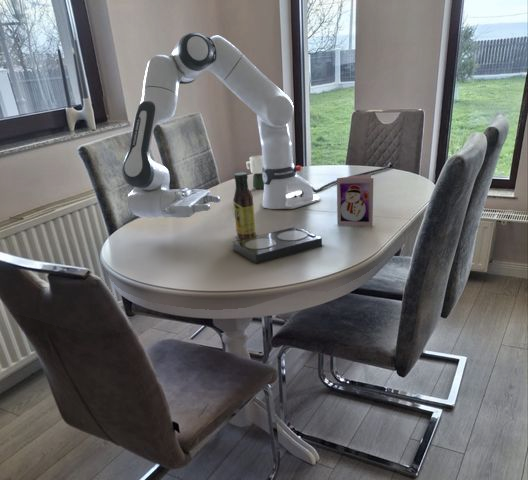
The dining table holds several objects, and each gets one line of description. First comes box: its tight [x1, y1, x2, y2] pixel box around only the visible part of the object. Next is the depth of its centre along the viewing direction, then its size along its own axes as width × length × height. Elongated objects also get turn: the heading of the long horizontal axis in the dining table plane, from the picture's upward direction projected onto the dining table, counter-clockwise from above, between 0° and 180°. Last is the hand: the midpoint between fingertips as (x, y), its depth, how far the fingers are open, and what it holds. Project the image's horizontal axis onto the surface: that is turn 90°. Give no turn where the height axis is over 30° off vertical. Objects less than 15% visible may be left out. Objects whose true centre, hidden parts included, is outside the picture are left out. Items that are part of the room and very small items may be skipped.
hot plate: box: [232, 226, 323, 264], centre depth 151 cm, size 22×15×3 cm
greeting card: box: [336, 173, 374, 227], centre depth 163 cm, size 11×7×15 cm, turn 68°
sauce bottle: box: [232, 171, 257, 240], centre depth 159 cm, size 7×6×20 cm
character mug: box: [245, 154, 264, 189], centre depth 220 cm, size 11×7×13 cm, turn 71°
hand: (214, 203), depth 161 cm, fingers open, 8 cm apart
